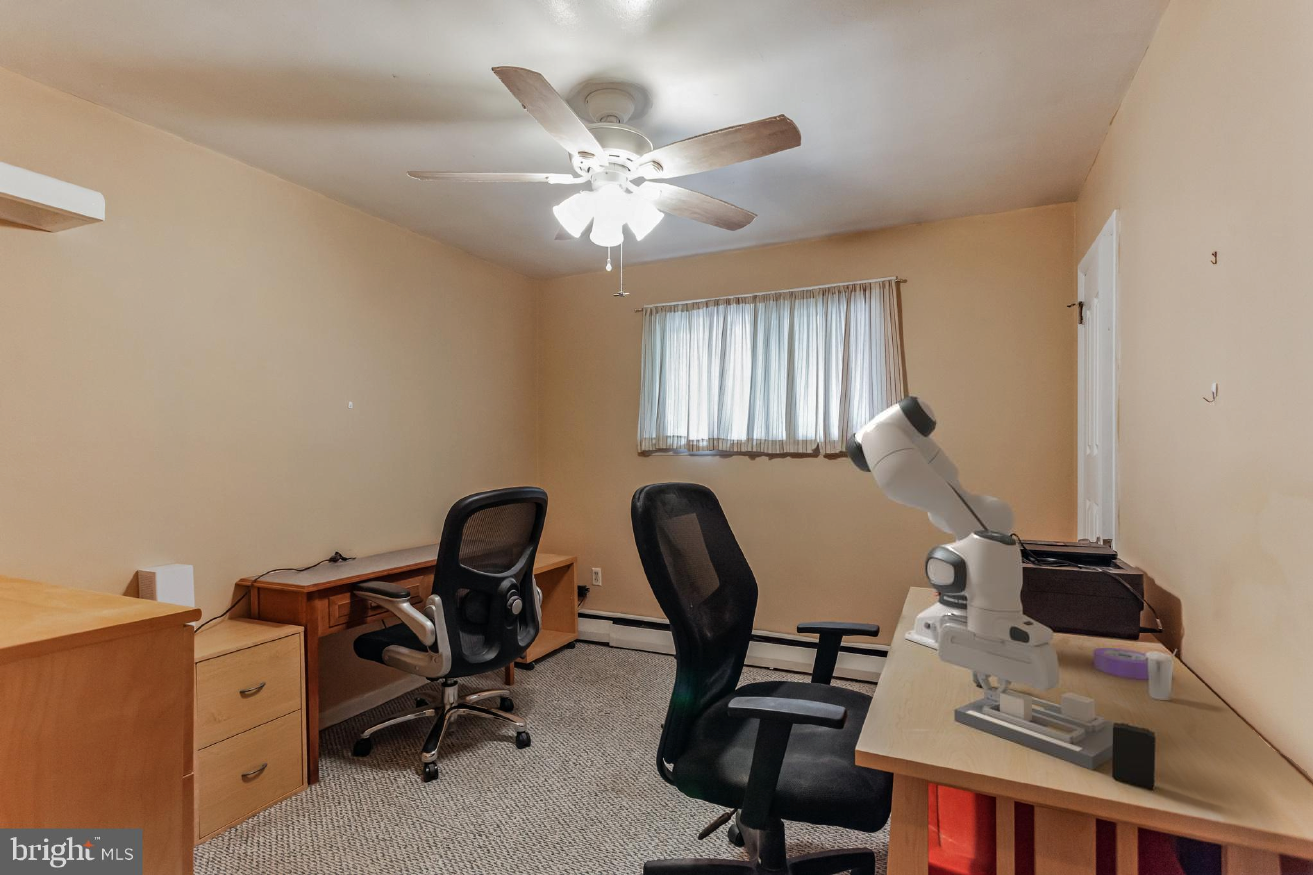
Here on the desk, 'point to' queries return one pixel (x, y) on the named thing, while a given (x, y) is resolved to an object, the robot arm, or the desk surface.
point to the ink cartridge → (1133, 755)
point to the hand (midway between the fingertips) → (994, 700)
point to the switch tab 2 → (1078, 707)
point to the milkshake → (1159, 674)
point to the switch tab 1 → (1016, 705)
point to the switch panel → (1044, 731)
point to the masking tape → (1121, 662)
